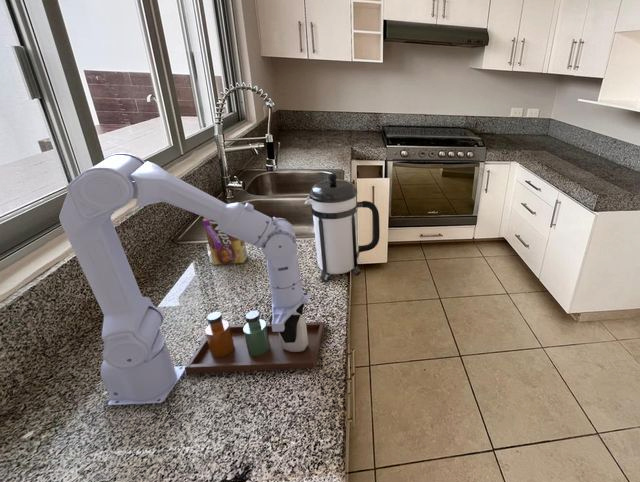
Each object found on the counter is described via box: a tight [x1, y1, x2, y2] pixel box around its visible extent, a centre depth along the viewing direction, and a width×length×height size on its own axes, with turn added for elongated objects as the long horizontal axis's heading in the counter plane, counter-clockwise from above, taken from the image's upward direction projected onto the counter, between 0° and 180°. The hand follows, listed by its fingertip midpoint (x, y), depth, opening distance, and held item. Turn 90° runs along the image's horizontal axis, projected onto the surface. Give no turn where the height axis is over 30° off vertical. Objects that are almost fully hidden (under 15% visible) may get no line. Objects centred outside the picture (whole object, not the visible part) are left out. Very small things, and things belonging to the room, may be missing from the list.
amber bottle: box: [204, 311, 234, 358], centre depth 71 cm, size 4×4×9 cm
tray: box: [184, 321, 326, 374], centre depth 73 cm, size 25×12×2 cm, turn 94°
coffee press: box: [304, 172, 381, 282], centre depth 98 cm, size 17×16×30 cm
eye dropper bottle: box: [279, 311, 308, 352], centre depth 72 cm, size 4×6×12 cm
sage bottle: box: [243, 310, 270, 356], centre depth 72 cm, size 4×4×9 cm
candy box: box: [202, 217, 249, 266], centre depth 103 cm, size 9×4×15 cm, turn 99°
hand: (293, 334), depth 72 cm, fingers closed on eye dropper bottle, 4 cm apart
